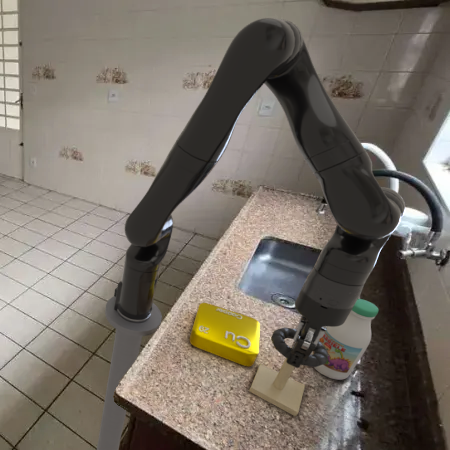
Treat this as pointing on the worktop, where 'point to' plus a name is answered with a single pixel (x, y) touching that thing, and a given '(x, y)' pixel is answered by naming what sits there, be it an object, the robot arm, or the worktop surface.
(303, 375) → the worktop surface
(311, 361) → the ring
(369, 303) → the milk bottle
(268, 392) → the stand
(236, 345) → the element tile
